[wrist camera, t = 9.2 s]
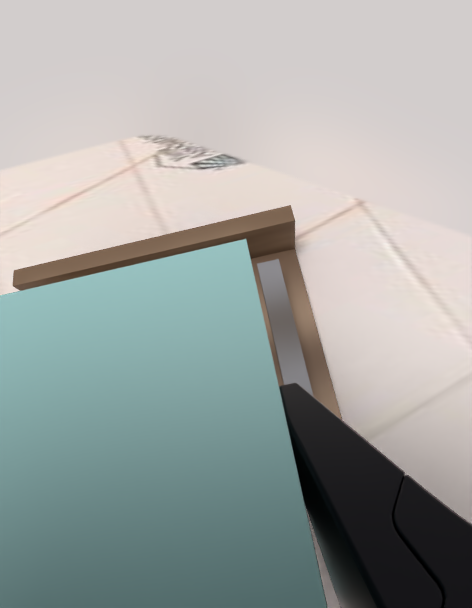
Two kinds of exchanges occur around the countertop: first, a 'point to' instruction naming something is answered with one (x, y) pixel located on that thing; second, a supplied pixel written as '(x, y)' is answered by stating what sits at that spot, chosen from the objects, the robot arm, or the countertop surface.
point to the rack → (268, 275)
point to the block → (148, 444)
